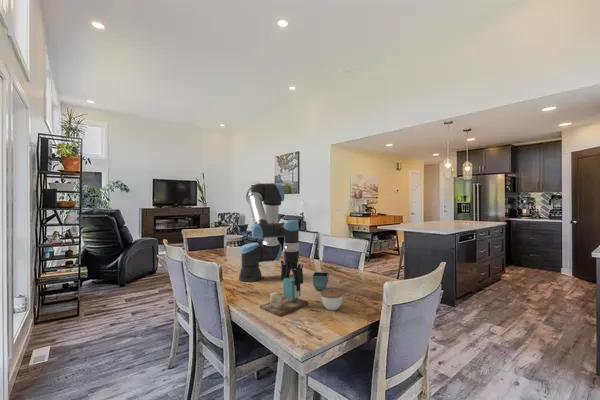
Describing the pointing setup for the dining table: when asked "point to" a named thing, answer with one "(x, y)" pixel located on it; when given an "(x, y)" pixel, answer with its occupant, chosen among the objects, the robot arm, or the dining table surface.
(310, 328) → the dining table surface
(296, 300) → the square post
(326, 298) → the lidded jar
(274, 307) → the cream smooth rounded part
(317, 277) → the flower pot
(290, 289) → the teal rectangular block
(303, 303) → the base board
